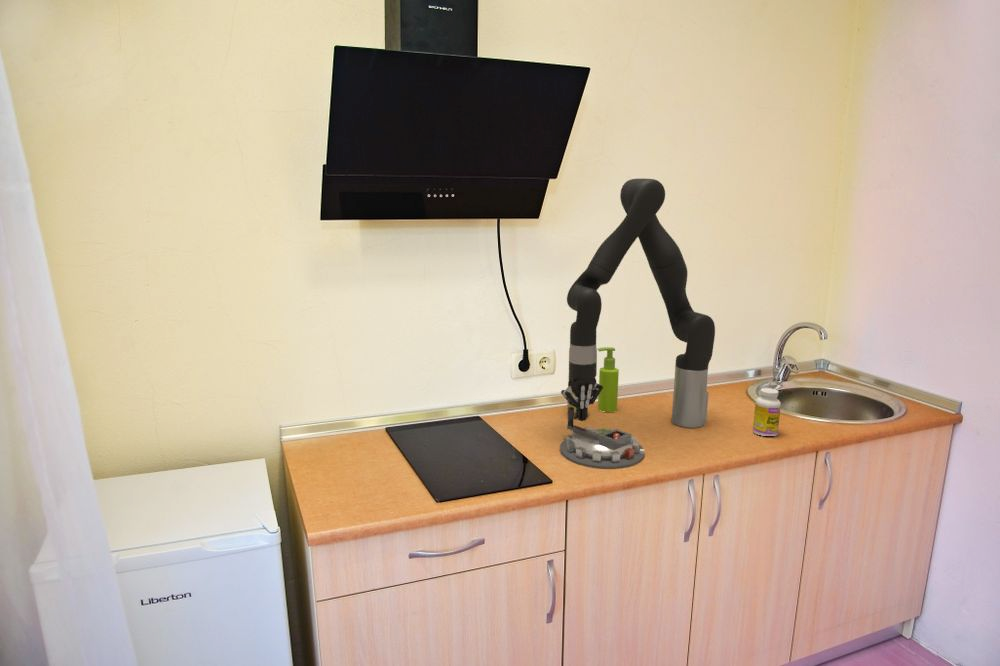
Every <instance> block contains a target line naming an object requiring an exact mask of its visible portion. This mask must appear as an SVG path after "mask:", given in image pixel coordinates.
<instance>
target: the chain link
mask: <svg viewBox="0 0 1000 666" xmlns="http://www.w3.org/2000/svg"><path fill="white" fill-rule="evenodd" d="M614 433H619V434H620V437H617V438H615V439H613V434H614ZM631 436H633V435H632V433H629V432H627V433H626V431H623V430H620V429H617V428H616V429H613V430H612V429H611V431H610V432H607V433H604V434H601V435H599V445H601V446H604V447H607V448H609V449H612V450H616V449H618V448H621V447H623V446H626V445H628V444H631Z"/></svg>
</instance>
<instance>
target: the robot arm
mask: <svg viewBox="0 0 1000 666" xmlns="http://www.w3.org/2000/svg"><path fill="white" fill-rule="evenodd" d="M619 197H620V201H621V202H620V203H621V206H622V208H623V210H624V212H625V214H626V215H625V217H624V219H622V221H621V223H620V224H619V225H618V226H617V227H616V229H614V231H612V233H611V234H609V236H607V238H606V239H604V241H603V242H602V243H601V244H600V246H599V247H598V248H597V249H596V252H595V253H594V255H593V257H592V259H591V260H590V262H589V264H588V266H587V267H586V269H585V270H584V271H583V272H581V274H580V275H579V277H577V279H576V280H575V281H574V282H573V284H572V285H571V287H570V288H569V289H568V292H567V296H566V303H567V305H568V307H569V308H570V309H571V310H573V311H575V312H576V317H575V318H576V320H575V321H574V322H572V323H571V325H570V331H569V333H570V334H569V347H568V348H569V349H568V378H569V377H570V381H569V380H568V382H569V383H568V382H567V387H566V388H565V389H561V391H560V393H561V395H562V396H563V397H564V399H565V400H566V402H567V403H568V402H569V404H570V405H572V406H574V407H576V417H577V418H576V419H577V420H578V421H580V422H583V421H586V420H587V418H588V411H589V407H590V405H594V403H595V402H596V400H598V396H599V394H600V392H601V390H602V389H603V386H601V385H599V382H597V379H596V377H597V375H598V373H597V367H598V365H597V364H598V363H597V362H598V350H597V349H598V348H597V327H598V324H599V321H600V315H601V313H602V304H603V303H602V297H601V295H600V293H599V292H598V290H599V288H600V287H601V286H603V285H607V284H608V283H610V282H611V280H612V278H613V276H614V275H615V273H616V272H617V270H618V267H619V266H620V265H621V262H622V261H623V259H624V257H625V256H626V255H627V253H628V251H629V250H630V248H631V247H632V245H633V244H634V243H635V241H636V240H637V239H638V240H639V243H640V245H641V247H642V250H643V252H644V255H645V257H646V260H647V262H648V266H649V268H650V271H651V273H652V276H653V278H654V280H655V282H656V284H657V285H656V286H657V288H658V290H659V292H660V295H661V298H662V299H663V303H664V305H665V308H666V313H667V317H668V320H669V324H670V327H671V330H672V332H673V334H674V336H675V338H676V339H678V340H680V341H681V342H684V343H686V346H685V347H686V349H685V352H684V353H680V354H678V355H677V356H676V357H675V366H674V367H675V368H674V379H673V380H674V383H673V396H672V399H673V400H672V410H671V411H672V413H671V422H672V424H674V425H676V426H678V427H684V428H689V429H691V428H692V429H693V428H694V429H695V428H700V427H703V426H704V425H705V424H706V423H707V418H708V404H709V403H708V402H709V392H708V391H707V387H708V386H707V385H708V374H709V364H710V361H711V360H712V356H713V352H714V350H713V349H714V344H715V338H716V337H715V336H716V326H715V321H714V320H713V318H712V317H711V316H710V315H707V314H704V313H700V312H697V311H694V309H693V307H692V305H691V303H690V301H689V297H688V295H687V289H686V288H687V282H688V267H687V264H686V261H685V259H684V256H683V253H682V251H681V249H680V247H679V246H678V244H677V242H676V241H675V240H674V238H672V236H671V235H670V234H669V233H668V232H667V230H666V229H665V228H664V226H663V225H662V224H661V222H660V221H659V218H658V216H657V213H658V212H659V211H660V210H661V208H662V206H663V204H664V202H665V199H666V190H665V187H664V185H663V183H661V182H660V180H658V179H655V178H631V179H629V180H627V181H625V182H624V183H623V185H622V187H621V189H620V196H619ZM572 392H573V394H574V398H573V396H572V395H573V394H572Z"/></svg>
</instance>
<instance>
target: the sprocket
mask: <svg viewBox="0 0 1000 666" xmlns="http://www.w3.org/2000/svg"><path fill="white" fill-rule="evenodd" d="M574 419H575V418H574V408H573V407H568V410H567V425H566V429H567V430H569V431H572V434H567V435H566V437H565V439H566V445H567V450H568V451H569V452H573V451H575V452H576V456H578V457H580V458H583V457H589V458H593V461H599V462H601V459H602V460H611V461H612V462H617V461H620V458H624V457H625V458H628V459H630V458H633V457H634V453H638V450H639V444H640V443H639V442H637V441H638V439H637V437H636V436H634V435H632V436H631V444H628V445H626V446H623V447H621V448H618V449H616V450H612V449H609V448H607V447H604V446H601V445H599V435H601V434H604V433H607V432H610V431H612V429H611V428H609V427H603V428H602V429H600V428H599V429H598V428H596V429H595V428H594V427H586V428H583V427H581V426H578V425H575V424H574ZM625 432H626V431H625ZM626 433H628V432H626ZM617 437H620V434H619V433H614V434H613V439H615V438H617Z"/></svg>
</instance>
